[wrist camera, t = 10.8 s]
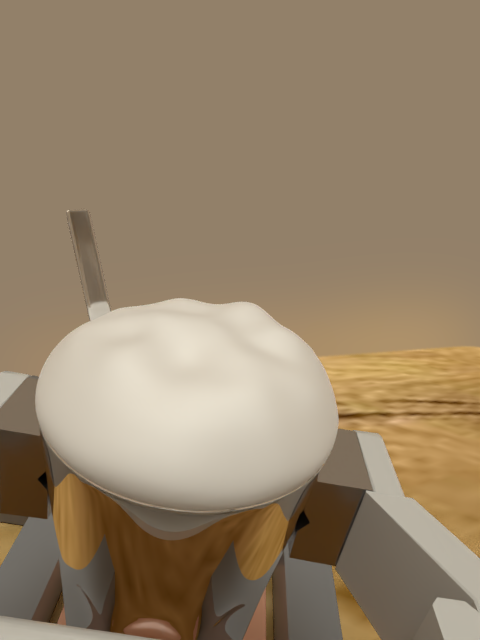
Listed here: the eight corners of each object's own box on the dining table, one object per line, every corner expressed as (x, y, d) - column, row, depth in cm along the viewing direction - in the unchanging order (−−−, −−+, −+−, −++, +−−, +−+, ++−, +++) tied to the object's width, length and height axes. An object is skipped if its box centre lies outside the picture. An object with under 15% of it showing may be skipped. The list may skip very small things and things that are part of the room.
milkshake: (135, 535, 14) (171, 203, 10) (282, 669, 11) (421, 292, 7) (-22, 657, 10) (-70, 218, 6) (139, 896, 8) (246, 408, 3)
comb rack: (310, 541, 17) (322, 506, 16) (368, 1052, 8) (402, 1029, 7) (-165, 466, 16) (-176, 426, 16) (-708, 923, 7) (-801, 884, 6)
